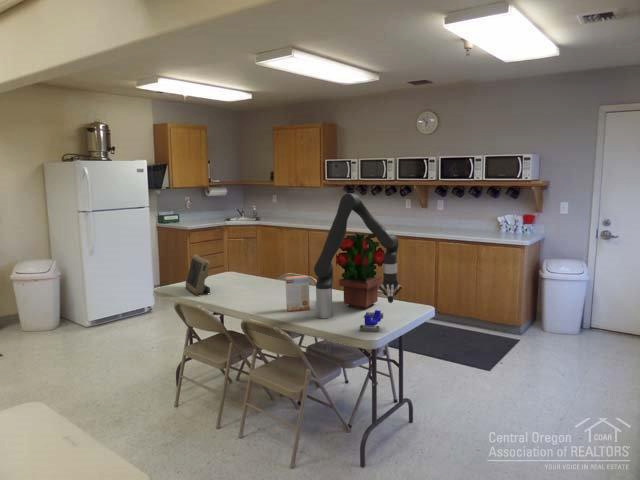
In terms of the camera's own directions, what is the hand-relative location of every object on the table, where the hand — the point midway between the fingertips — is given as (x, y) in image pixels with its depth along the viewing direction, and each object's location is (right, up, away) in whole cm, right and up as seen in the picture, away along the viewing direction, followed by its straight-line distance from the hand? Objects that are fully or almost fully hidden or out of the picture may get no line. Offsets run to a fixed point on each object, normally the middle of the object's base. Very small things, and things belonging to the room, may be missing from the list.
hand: (390, 302), depth 263 cm
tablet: (-127, -3, +86) cm, 154 cm away
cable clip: (-9, -12, +4) cm, 16 cm away
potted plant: (-13, -7, +40) cm, 43 cm away
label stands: (-10, -12, +4) cm, 16 cm away
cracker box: (-52, -9, +34) cm, 63 cm away
